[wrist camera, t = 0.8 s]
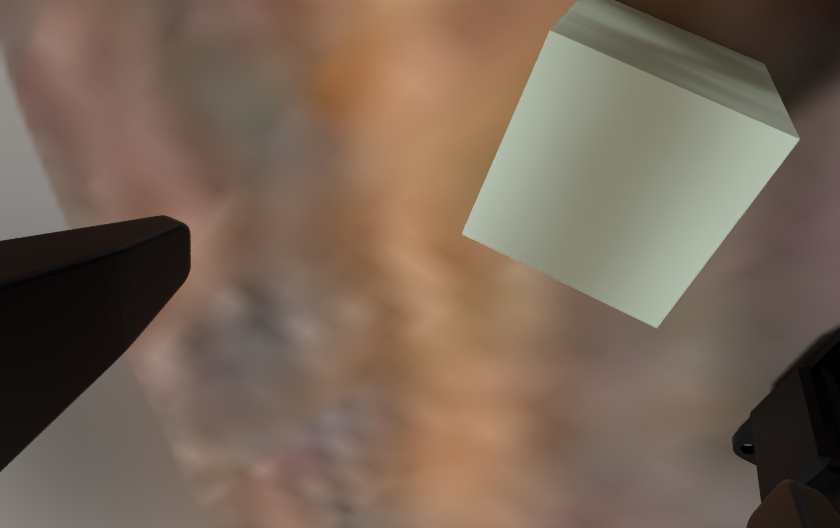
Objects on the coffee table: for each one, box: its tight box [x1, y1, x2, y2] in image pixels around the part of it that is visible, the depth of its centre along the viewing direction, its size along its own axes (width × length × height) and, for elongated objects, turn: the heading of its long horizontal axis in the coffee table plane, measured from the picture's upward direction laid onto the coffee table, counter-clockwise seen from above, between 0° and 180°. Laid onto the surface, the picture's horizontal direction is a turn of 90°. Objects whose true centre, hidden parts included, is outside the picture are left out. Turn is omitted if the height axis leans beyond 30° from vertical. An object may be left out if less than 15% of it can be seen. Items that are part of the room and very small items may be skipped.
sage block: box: [462, 0, 800, 328], centre depth 15 cm, size 5×5×6 cm
